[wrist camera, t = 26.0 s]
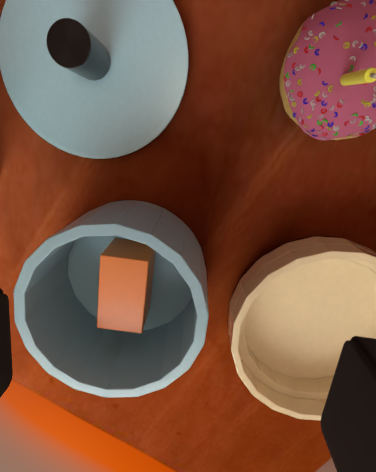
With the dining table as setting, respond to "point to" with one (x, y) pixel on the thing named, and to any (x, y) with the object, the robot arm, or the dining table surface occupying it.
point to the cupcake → (333, 72)
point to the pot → (86, 303)
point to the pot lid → (94, 71)
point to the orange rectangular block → (125, 285)
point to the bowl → (301, 320)
